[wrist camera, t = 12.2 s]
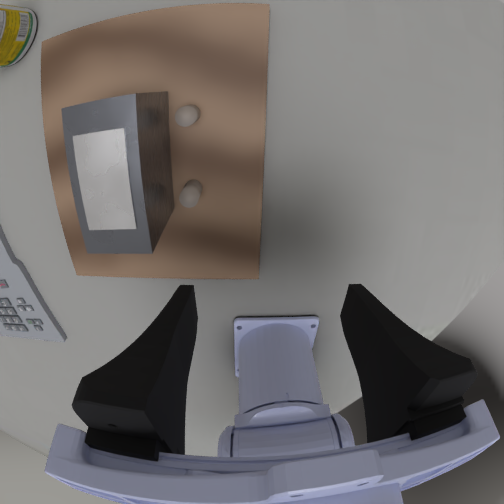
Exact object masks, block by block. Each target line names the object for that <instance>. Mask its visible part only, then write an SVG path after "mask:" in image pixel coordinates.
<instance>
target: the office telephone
mask: <svg viewBox="0 0 504 504" xmlns="http://www.w3.org/2000/svg"><path fill="white" fill-rule="evenodd" d="M0 335H1V336H10V337H19V338H29V339H40V340H45V341H54V342H65V340H66V338H67V336H66V334H65V332H64V331H63V329H62V328H61V326H60V325H59V323H58V322H57V320H56V319H55V317H54V315H53V314H52V312H51V311H50V309H49V307H48V306H47V304H46V303H45V301H44V299H43V298H42V296H41V294H40V292H39V291H38V289H37V287H36V285H35V284H34V282H33V280H32V278H31V276H30V274H29V273H28V271H27V269H26V268H25V266H24V264H23V263H22V262H21V261H20V260H18V259H17V258H16V257H15V255H14V253H13V251H12V250H11V247H10V245H9V243H8V241H7V239H6V237H5V234H4V232H3V230H2V228H1V225H0Z"/></svg>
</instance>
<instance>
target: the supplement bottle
mask: <svg viewBox="0 0 504 504" xmlns="http://www.w3.org/2000/svg"><path fill="white" fill-rule="evenodd" d="M36 26H37V22H36V16H35V14H34V13H33V11H31V10H30V9H27V8H23V7H16V6H9V5H2V4H0V67H6V66H10V65H13V64H15V63H16V62H17V61H19V60H20V59H21V58H22V57H23V56H24V54H25V53H26V52H27V50H28V49H29V47H30V45H31V43H32V41H33V39H34V36H35V32H36Z"/></svg>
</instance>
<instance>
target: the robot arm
mask: <svg viewBox="0 0 504 504" xmlns="http://www.w3.org/2000/svg"><path fill="white" fill-rule="evenodd" d="M340 317H341V322H342V327H343V332H344V335H345V338H346V341H347V344H348V347H349V350H350V352H351V355H352V358H353V361H354V364H355V367H356V370H357V373H358V376H359V381H360V386H361V391H362V396H363V402H364V409H365V417H366V426H367V444H363V445H358V446H355V444H354V439H353V434H352V431H351V428H350V426H349V424H348V422H347V420H346V419H344V418H343V417H341V416H340V415H339V414H332V415H331V413H330V408H329V404H323V399H322V394H321V390H320V385H319V380H318V376H317V371H316V367H315V362H314V358H313V353H312V347H313V344H314V340H315V336H316V332H317V329H318V325H319V318H318V317H316V316H308V317H271V318H236V319H235V320H234V349H235V376H236V377H239V414H237V415H235V426H228V427H226V429H225V430H224V431H223V432H222V433H221V435H220V438H219V442H218V457H208V456H192V455H185V411H186V394H187V383H188V376H189V371H190V366H191V361H192V356H193V351H194V346H195V341H196V334H197V321H198V316H197V308H196V300H195V292H194V285H180V286H179V287H178V288H177V290H176V292H175V293H174V295H173V296H172V297H171V299H170V300H169V302H168V303H167V305H166V306H165V307H164V308H163V310H162V311H161V312H160V314H159V315H158V316H157V318H156V319H155V320H154V321H153V322H152V323H151V325H150V326H149V327H148V328H147V329H146V330H145V331H144V332H143V333H142V334H141V335H140V336H139V337H138V338H137V339H136V340H135V341H134V342H133V343H132V344H131V345H130V346H129V347H128V348H126V349H125V350H124V351H123V352H122V353H120V354H119V355H118V356H116V357H115V358H114V359H112V360H111V361H109V362H108V363H107V364H105V365H103V366H102V367H100V368H99V369H97V370H95V371H93V372H91V373H90V374H88V375H86V376H84V377H82V379H81V382H80V384H79V386H78V388H77V391H76V394H75V397H74V400H73V403H72V407H73V410H74V411H75V413H76V414H77V415H78V416H79V417H80V418H81V419H82V421H83V422H84V423H85V424H86V425H87V426H88V430H87V433H86V432H84V431H82V430H79V429H76V428H73V427H69V426H66V425H63V424H58V425H57V428H56V431H55V434H54V438H53V441H52V444H51V448H50V451H49V455H48V459H47V463H46V467H45V473H47V474H48V475H50V476H52V477H54V478H55V479H57V480H59V481H61V482H63V483H64V484H66V485H68V486H70V487H72V488H74V489H77V490H80V491H83V492H86V493H88V494H92V495H95V496H98V497H102V498H105V499H108V500H111V501H115V502H118V503H122V504H403V500H402V495H401V491H403V490H406V489H408V488H411V487H413V486H416V485H418V484H421V483H423V482H425V481H428V480H430V479H432V478H434V477H436V476H439V475H441V474H443V473H445V472H447V471H449V470H451V469H453V468H455V467H457V466H459V465H461V464H463V463H465V462H467V461H469V460H470V459H472V458H474V457H475V456H476V455H478V454H479V453H481V452H482V451H484V450H485V449H486V448H488V447H489V446H490V445H492V444H493V443H494V442H496V441H497V440H498V439H499V438H500V436H499V433H498V431H497V429H496V426H495V424H494V422H493V419H492V417H491V415H490V413H489V411H488V408H487V406H486V404H485V402H484V400H480V401H478V402H476V403H473V404H471V405H469V406H467V407H466V408H464V409H463V407H462V405H461V404H463V403H464V399H463V397H462V395H463V394H464V393H465V392H466V390H468V388H469V387H470V386H471V385H472V384H473V382H474V381H475V379H476V377H477V371H476V369H475V367H474V365H473V364H472V362H471V360H470V359H469V358H466V357H463V356H461V355H458V354H456V353H453V352H451V351H449V350H447V349H445V348H443V347H440V346H439V345H436V344H435V343H433V342H432V341H430V340H428V339H427V338H425V337H423V336H422V335H420V334H419V333H417V332H416V331H415V330H413V329H412V328H410V327H409V326H408V325H406V324H405V323H404V322H403V321H401V320H400V319H399V318H398V317H397V316H395V315H394V314H393V313H392V312H391V311H390V310H389V309H387V308H386V307H385V306H384V305H383V304H382V303H381V302H380V301H379V300H378V299H377V298H376V297H375V296H374V295H372V294H371V293H370V292H369V291H368V290H367V289H366V288H365V287H364V286H363V285H361V284H349V287H348V290H347V294H346V298H345V301H344V304H343V308H342V311H341V315H340ZM313 324H314V325H313ZM238 326H241V327H238Z"/></svg>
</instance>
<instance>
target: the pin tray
mask: <svg viewBox="0 0 504 504" xmlns="http://www.w3.org/2000/svg"><path fill="white" fill-rule="evenodd" d="M268 37H269V4H254V3H219V4H200V5H187V6H178V7H170V8H162V9H156V10H150V11H144V12H139V13H134V14H129V15H124V16H120V17H116V18H112V19H108V20H104V21H100V22H97V23H93V24H90V25H87V26H83V27H80V28H77V29H74V30H71V31H68V32H66V33H63V34H60V35H57V36H55V37H52V38H50V39H47V40H45V41H43V42H42V50H41V94H42V111H43V123H44V133H45V141H46V149H47V156H48V162H49V168H50V174H51V180H52V185H53V190H54V195H55V199H56V204H57V208H58V212H59V216H60V220H61V224H62V228H63V232H64V235H65V239H66V242H67V246H68V249H69V252H70V255H71V259H72V262H73V265H74V268H75V271H76V274H77V275H82V276H107V277H137V278H181V279H259V258H260V237H261V216H262V194H263V171H264V147H265V121H266V95H267V67H268ZM163 91H168V98H169V130H170V150H171V166H172V180H173V193H174V204H175V208H174V210H173V212H172V214H171V216H170V218H169V220H168V222H167V224H166V226H165V228H164V231H163V233H162V235H161V237H160V239H159V241H158V243H157V245H156V247H155V250H154V252H153V254H87V250H86V247H85V243H84V239H83V236H82V232H81V228H80V224H79V219H78V215H77V211H76V206H75V202H74V197H73V192H72V187H71V181H70V176H69V170H68V163H67V157H66V149H65V142H64V133H63V123H62V111H61V108H65V107H69V106H73V105H77V104H82V103H86V102H91V101H95V100H100V99H106V98H111V97H117V96H123V95H129V94H136V93H148V92H163Z"/></svg>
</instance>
